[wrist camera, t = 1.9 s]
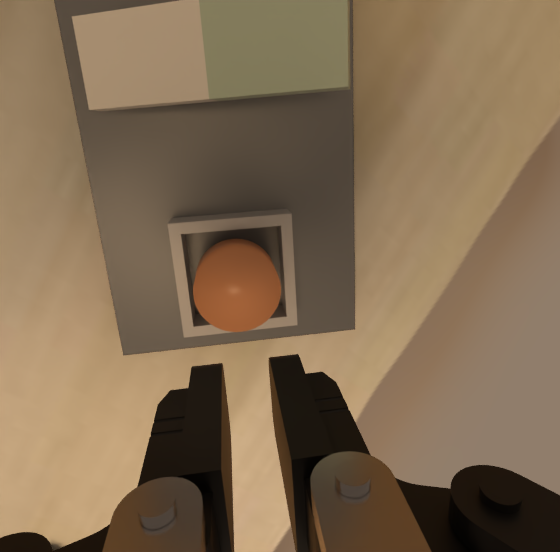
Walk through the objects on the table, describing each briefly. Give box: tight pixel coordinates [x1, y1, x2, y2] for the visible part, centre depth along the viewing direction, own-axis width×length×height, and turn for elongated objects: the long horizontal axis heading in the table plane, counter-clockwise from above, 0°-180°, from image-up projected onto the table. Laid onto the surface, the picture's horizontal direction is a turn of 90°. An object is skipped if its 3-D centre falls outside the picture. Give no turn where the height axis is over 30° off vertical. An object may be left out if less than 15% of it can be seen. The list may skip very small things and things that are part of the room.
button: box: [193, 239, 281, 332], centre depth 18 cm, size 4×4×2 cm
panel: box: [54, 0, 355, 355], centre depth 18 cm, size 12×25×4 cm, turn 4°
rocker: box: [72, 0, 350, 111], centre depth 15 cm, size 10×3×1 cm, turn 93°
